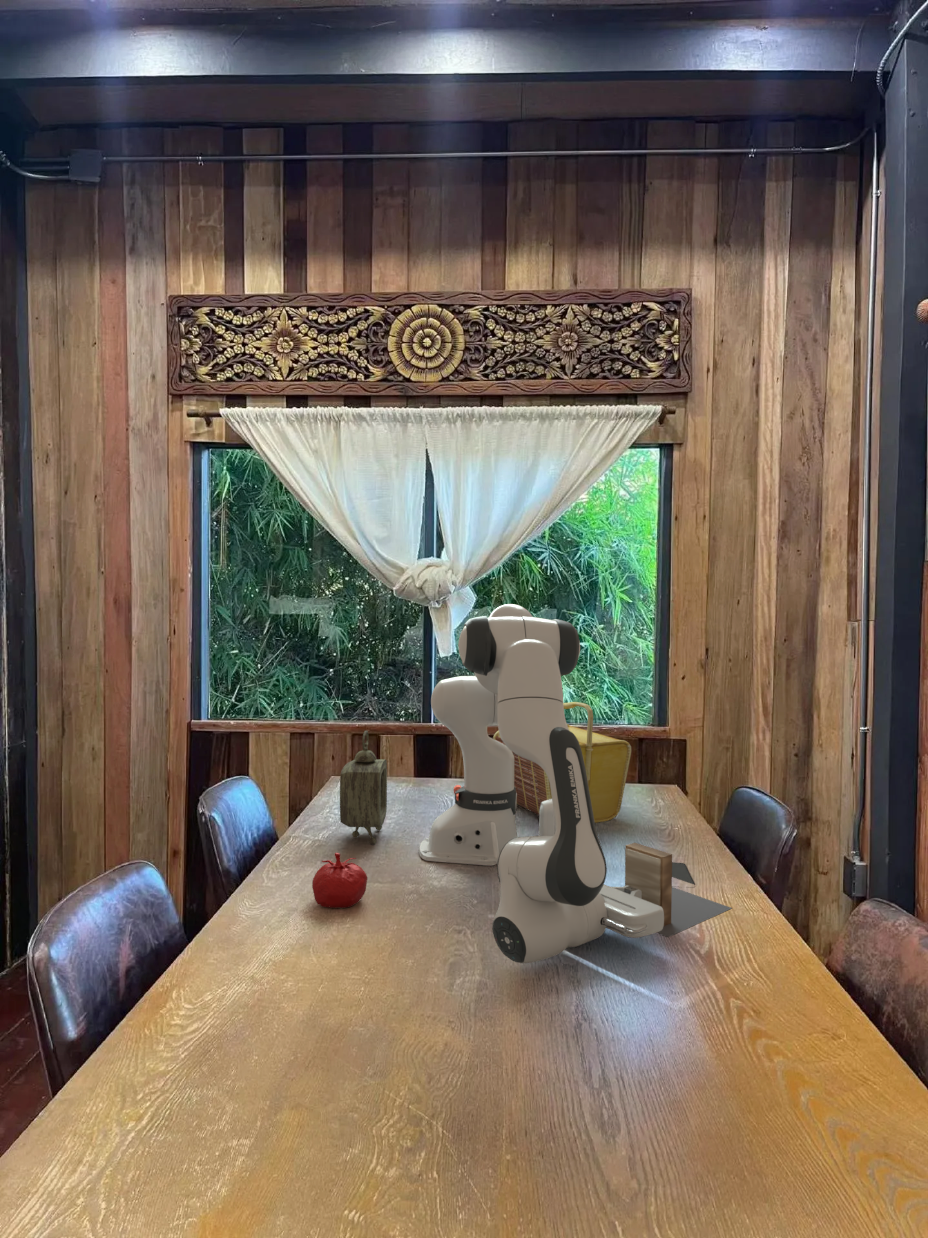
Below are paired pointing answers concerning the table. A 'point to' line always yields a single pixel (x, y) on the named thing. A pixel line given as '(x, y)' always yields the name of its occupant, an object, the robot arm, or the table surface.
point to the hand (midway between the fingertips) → (634, 892)
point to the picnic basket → (601, 763)
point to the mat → (690, 911)
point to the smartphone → (681, 873)
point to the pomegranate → (339, 884)
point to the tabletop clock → (364, 792)
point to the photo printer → (547, 819)
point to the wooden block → (650, 875)
